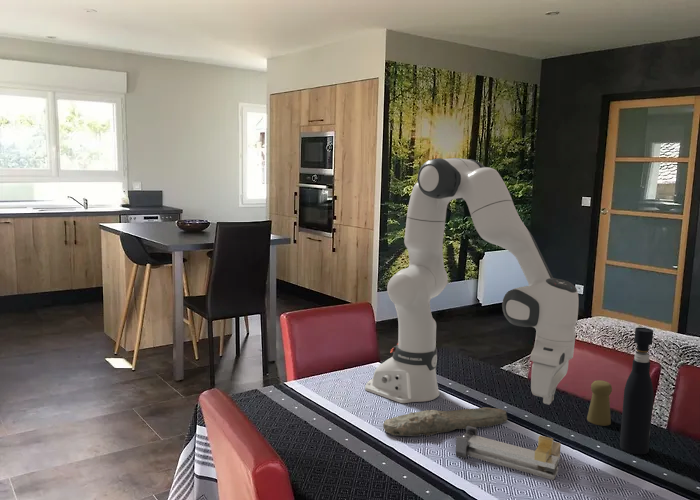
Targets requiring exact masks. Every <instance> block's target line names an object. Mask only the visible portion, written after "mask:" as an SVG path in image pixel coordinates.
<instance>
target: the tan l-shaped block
mask: <svg viewBox="0 0 700 500" xmlns="http://www.w3.org/2000/svg"><path fill="white" fill-rule="evenodd" d="M553 441H554V438H552V437H549V436H545V435H539V436H538V440H537V447H536V449H535V450H534V451H535V458H534V460H538V461H541V462H545V463H546V461H547V459H548V458H549V456H551V455H552V452H553Z"/></svg>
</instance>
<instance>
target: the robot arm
mask: <svg viewBox="0 0 700 500" xmlns="http://www.w3.org/2000/svg"><path fill="white" fill-rule="evenodd" d="M453 200H457V201H460V200H464V201H465V202H466V205H467V207H468V211H469V214H470V217H471V220H472V223H473V226H474V228H475V230H476V232H477V233H478V235H479V236H480V238H481V239H483V240H484V241H485V242H487V243H489V244H492V245H496V246H499V247H501V249H505V250H506V251H508V252H510V253H511V254H512V255H513V256H514V257H515V259H516V260H517V263H518V264H519V266H520V269H521V271H522V273H523V275H524V277H525V279H526V281H527V283H528V285H526V286H525V285H524V286H520V287H515V288H513V289H510V290H508V291H507V292H506V293H505V295H504V296H503V298H502V304H501V307H502V312H503V315H504V317H505V319H506V320H507V321H508V322H509V323H510V324H512V325H514V326H517V327H523V328H534V329H535V331H536V332H535V341H534V345H533V348H532V351H531V353H530V357H529V359H530V361H531V362H532V365H531V375H530V376H531V377H530V379H531V380H530V391H531V394H532V395H533V396H536V397H539V398H542V403H543V404H545V405H551V404H552V402H553V401H554V399H555V394H556V390H557V386H558V385H559V384H560V382H561V381H562V380H563V378H565V377H566V375H567V373H568V371H569V370H568V369H569V361H570V360H572V359H573V358H574V353H575V343H576V342H575V341H576V333H575V328H576V324H577V323H578V317H579V316H578V315H579V293H578V289H577V287H576V286H575V285H574V284H573V283H571V282H569V281H567V280H564V279H560V278H556V277H554V276H553V274H552V272H551V271H550V268H549V267H548V264H547V263H546V261H545V258H544V256H543V254H542V252H541V250H540V248H539V246H538V244H537V242H536V240H535V238H534V236H533V235H532V233H531V231H530V230H529V229H528V227H526V225H525V224H524V222H523V221H522V219H521V217H520V215H519V213H518V210H517V209H516V207H515V204H514V201H513V199H512V196H511V194H510V191H509V190H508V187H507V185H506V183H505V182H504V180H503V178H502V176H501V174H500V173H499V172H498V170H496V169H495V168H492V167H490V166H489V167H487V166H485V165H484V164H483V163H482V162H480V161H478V160H474V159H471V158H470V159H469V158H468V159H466V158H461V157H451V158H450V157H449V158H441V157H440V158H433V159H430V160H427V161H426V162H424V163H423V164H421V166H420V168H419V170H418V172H417V182H416V183H415V184H414V185H413V188H412V190H411V193H410V197H409V200H408V201H409V202H408V206H407V213H406V220H405V231H404V238H403V239H404V240H403V243H404V246H405V247H406V250H407V253H408V259H409V260H408V262H409V263H408V264H409V265H408V267H405V268H402V269H400V270H399V271H397V272H396V273H394V275H393V276H391V277H390V279H389V280H388V282H387V284H386V285H387V286H386V289H387V290H386V292H387V295H388V298H389V299H390V301H391V302H392V303H393V304H394V307H395V310H396V315H397V321H398V329H397V330H398V332H397V333H398V340H397V343H396V345H395V346H393V347H392V348H391V349H390V352H389V353H390V354H392V356H390V358H388V359H386V360H385V361H383V362H382V363H380V364H379V365H378V366H377V367H376V368H375V370H374V372H373V377H372V378H371V379H370V380H369V381H367V382H366V384H365V386H364V387H365V388H364V389H365V391H367V392H369V393H373V394H375V395H378V396H381V397H382V398H386V399H388V400H392V401H395V402H397V403H400V404H406V403H407V404H408V403H414V402H415V403H417V402H418V403H420V402H421V403H422V402H429V401H433V400H435V399H437V398H438V397H439V396H440V389H439V385H438V379H437V369H436V367H437V362H438V349H437V347H436V345H437V343H436V341H437V322H436V320H435V319H434V318H433V315H432V314H433V313H432V311H431V310H432V309H431V300H432V299H434V298H436V297H437V296H439V295H440V294H441V293H442V292H443V291H444V289H445V288H446V287H447V285H448V281H449V279H448V278H449V276H448V273H447V270H446V269H445V263H444V252H443V250H444V249H443V247H444V246H443V245H444V234H445V228H446V227H445V225H446V218H447V209H448V205H449V203H450V202H451V201H453Z"/></svg>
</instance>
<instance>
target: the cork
mask: <svg viewBox="0 0 700 500" xmlns="http://www.w3.org/2000/svg"><path fill="white" fill-rule="evenodd" d="M590 388H591V390H590V391H591V392H592V393H591V395H592V396H591V398H590V399H591V400H590V402H589V403H590V404H589V408H588V412H587V416H586V420H587V422H589V423H591V424H593V425H597V426H600V427H601V426H604V427H605V426H610V425H611V424H612V419H611V418H612V416H611V405H610V402H611V401H610V395H611V394H612V391H613V388H612V384H611V383H610V382H608V381H605V380H600V379H598V380H593V381H592V383H591V384H590Z"/></svg>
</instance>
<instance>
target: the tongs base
mask: <svg viewBox="0 0 700 500" xmlns="http://www.w3.org/2000/svg"><path fill="white" fill-rule="evenodd" d="M467 431H472V432H473V433H474V435H476V436H478V435H477V434H478V427H471V426H467V427H466V430H465V433H466V432H467ZM455 438H456V439H455V440H456V442H455V457H459V458H462V459H467V458H468V457H469V458H470V457H471V458H474V459H477V460H482V461H484V462H488V463H491V464H496V465H498V466H502V467H506V468H509V469H513V470H516V471H520V472H523V473H527V474H530V475H533V476H538V477H540V478H545V479H548V480H552V481H554V480H555V479H556V477H557V475H558V473H559V466H558V467H557V469H556V471H555V472H554V473H553V472H549V471H546V470H545V467H542V466H539V465H535V464H531V463H528V462H524V461H520V460H517V459H513V458H509V457H506V456H502V455H498V454H494V453H491V452H487V451H483V450H480V449H476V448H472V447H469V446H467V438H465V437H462V435H456V437H455Z"/></svg>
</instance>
